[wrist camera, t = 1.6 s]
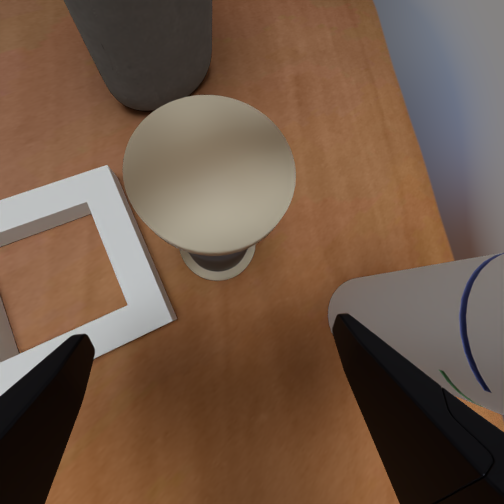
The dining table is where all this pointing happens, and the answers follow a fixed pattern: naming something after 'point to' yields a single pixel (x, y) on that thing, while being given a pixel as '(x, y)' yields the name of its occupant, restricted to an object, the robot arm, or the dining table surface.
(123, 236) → the rectangular frame
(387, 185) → the dining table surface
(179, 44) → the vase
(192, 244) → the disc
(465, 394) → the cylindrical container
